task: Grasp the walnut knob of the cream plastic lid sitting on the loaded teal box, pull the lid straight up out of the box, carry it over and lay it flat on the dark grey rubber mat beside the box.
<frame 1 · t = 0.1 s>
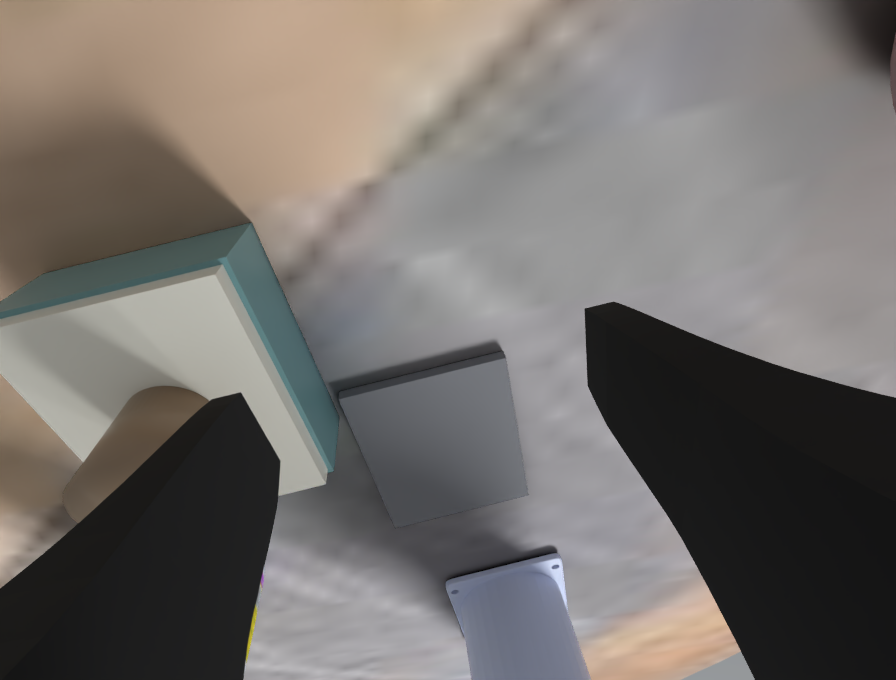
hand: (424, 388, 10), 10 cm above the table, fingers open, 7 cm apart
box: (211, 355, 20), on the table
pad: (442, 444, 24), on the table
lid: (182, 407, 17), point 3 cm above the table, touching box
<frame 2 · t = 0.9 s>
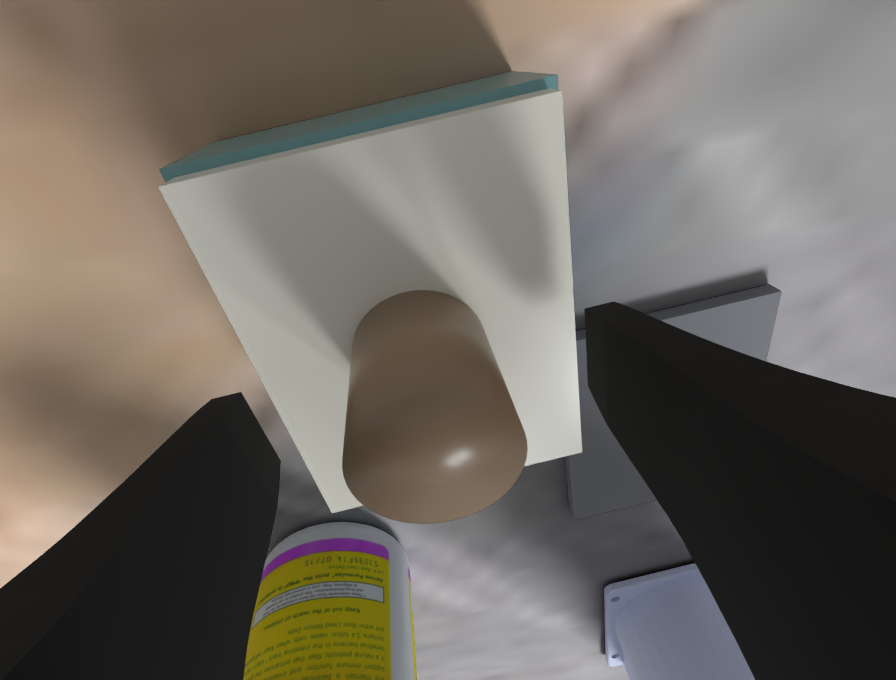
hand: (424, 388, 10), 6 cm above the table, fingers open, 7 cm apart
box: (409, 278, 15), on the table
pad: (655, 412, 19), on the table
supplement bottle: (339, 557, 22), on the table
lid: (417, 334, 12), point 3 cm above the table, touching box
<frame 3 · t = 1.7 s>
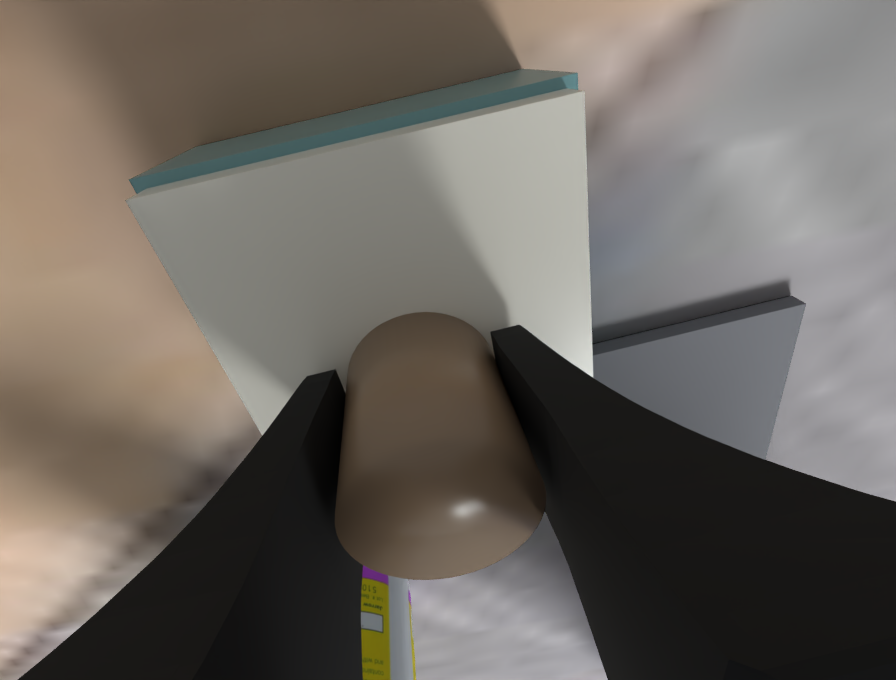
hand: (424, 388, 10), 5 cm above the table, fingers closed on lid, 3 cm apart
box: (410, 291, 14), on the table
pad: (668, 428, 18), on the table
supplement bottle: (336, 578, 21), on the table
lid: (419, 356, 11), point 3 cm above the table, touching box, gripper
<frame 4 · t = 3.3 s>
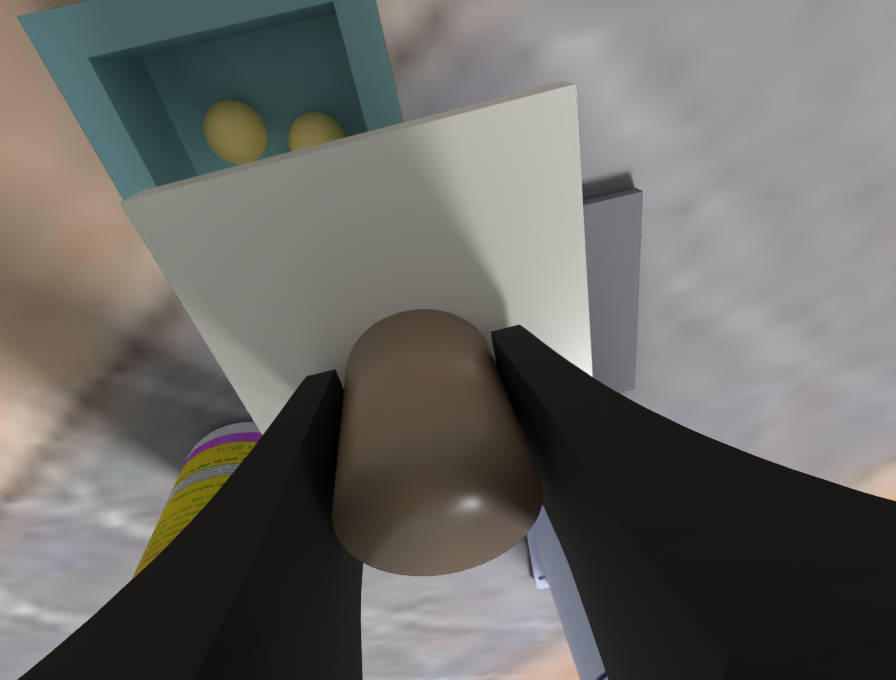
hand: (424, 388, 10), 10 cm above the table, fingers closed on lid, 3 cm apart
box: (294, 169, 16), on the table
pad: (546, 317, 21), on the table
supplement bottle: (262, 462, 23), on the table
lid: (418, 354, 11), point 9 cm above the table, touching gripper
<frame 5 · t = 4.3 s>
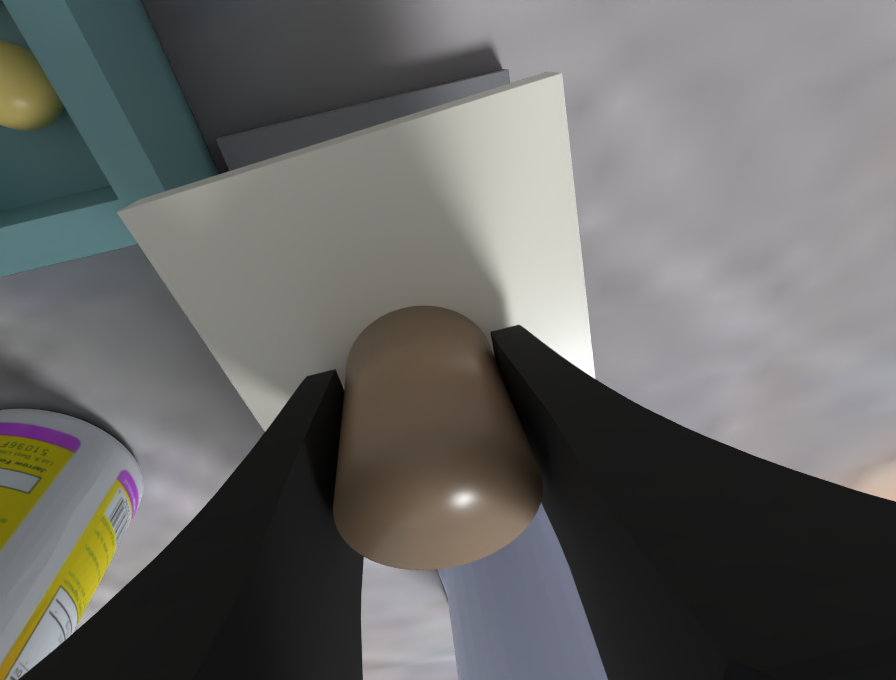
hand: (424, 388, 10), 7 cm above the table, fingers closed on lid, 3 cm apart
pad: (406, 266, 15), on the table
supplement bottle: (58, 463, 18), on the table
lid: (418, 351, 11), point 5 cm above the table, touching gripper
when the fingers open (4 cm above the table, at t = 5.1 s): lid drops 1 cm, resting on pad.
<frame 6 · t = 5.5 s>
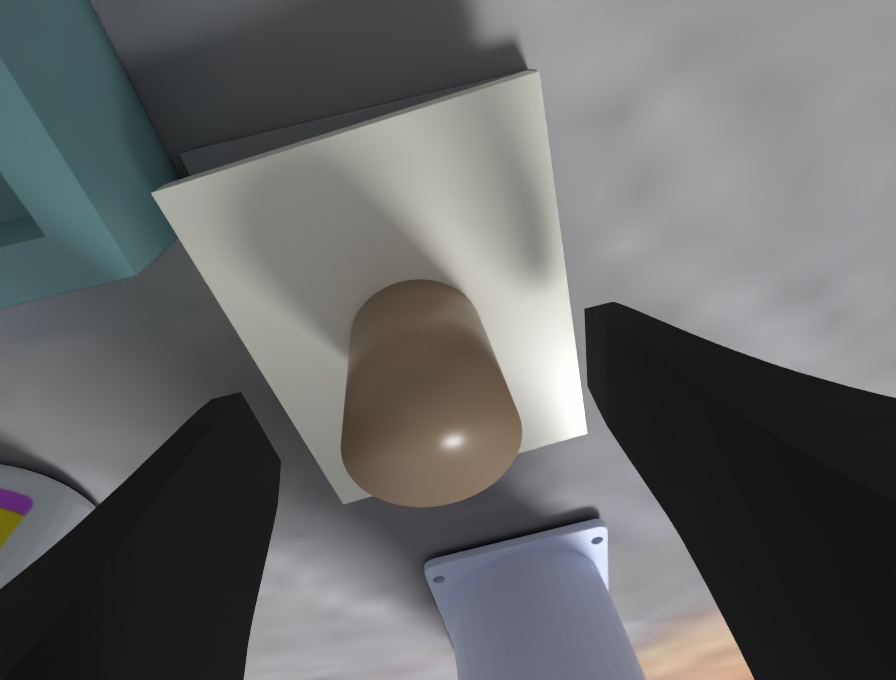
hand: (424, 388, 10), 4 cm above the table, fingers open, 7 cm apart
pad: (411, 299, 13), on the table
supplement bottle: (14, 517, 16), on the table
lid: (415, 323, 12), point 2 cm above the table, touching pad
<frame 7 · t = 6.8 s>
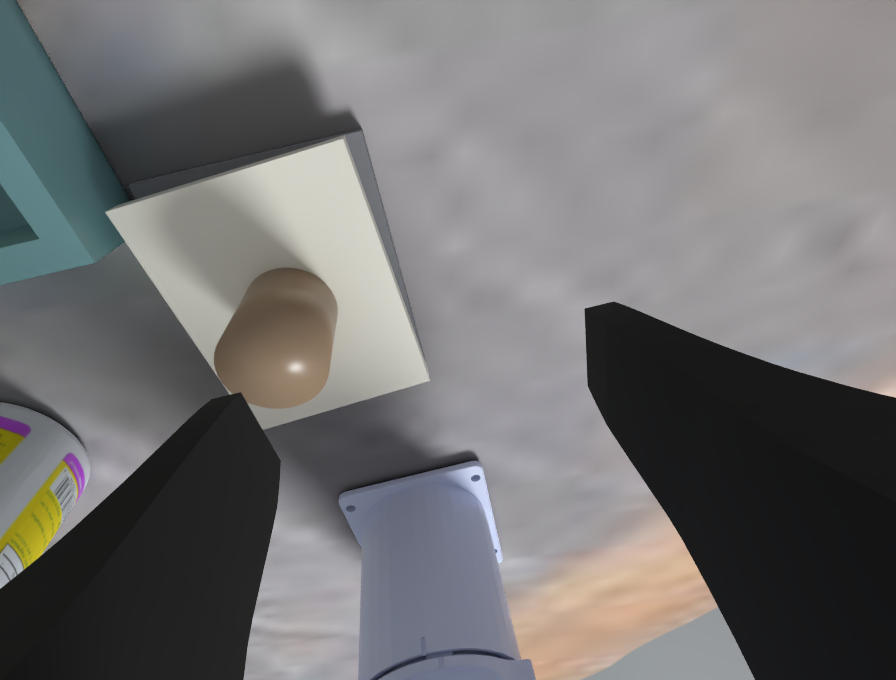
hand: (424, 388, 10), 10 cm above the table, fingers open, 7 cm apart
pad: (301, 283, 18), on the table
supplement bottle: (16, 448, 21), on the table
lid: (295, 299, 17), point 2 cm above the table, touching pad
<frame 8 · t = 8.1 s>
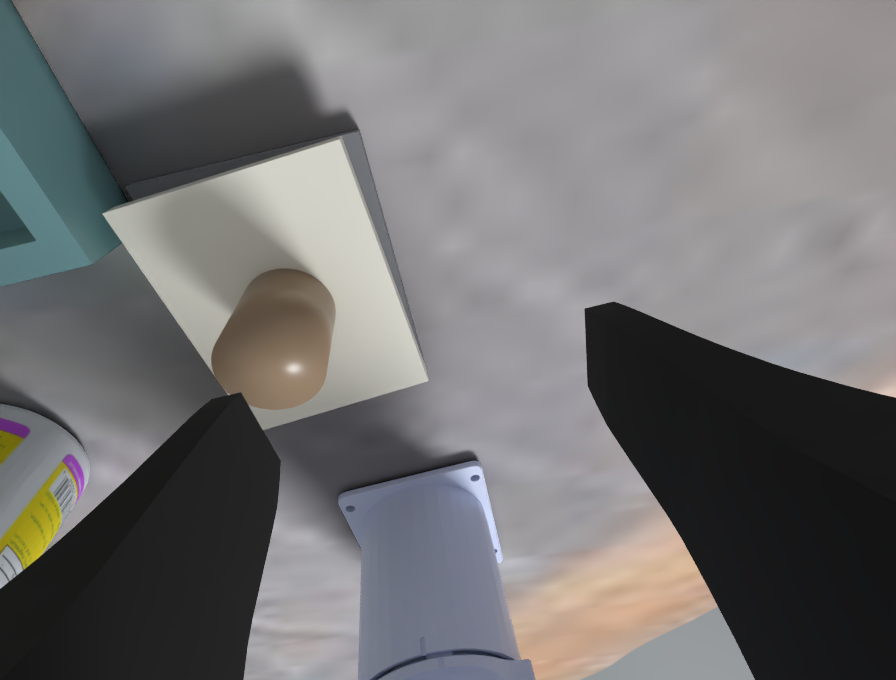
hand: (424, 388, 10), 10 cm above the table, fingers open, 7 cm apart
pad: (299, 284, 18), on the table
supplement bottle: (16, 449, 21), on the table
lid: (293, 300, 17), point 2 cm above the table, touching pad
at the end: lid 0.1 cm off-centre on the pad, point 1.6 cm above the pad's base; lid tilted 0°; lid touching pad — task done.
